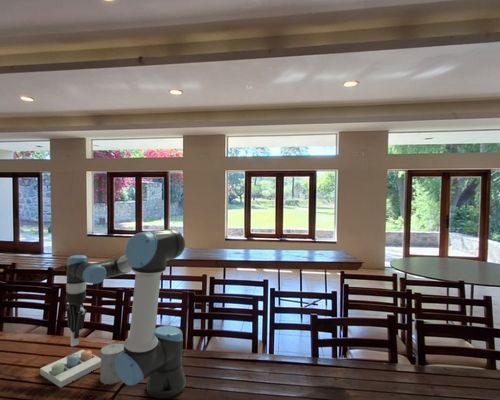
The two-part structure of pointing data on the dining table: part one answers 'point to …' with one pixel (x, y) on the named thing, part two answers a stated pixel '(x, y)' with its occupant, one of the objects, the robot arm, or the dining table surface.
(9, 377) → the dining table surface
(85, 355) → the terracotta button
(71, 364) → the slate button
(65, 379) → the panel
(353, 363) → the dining table surface
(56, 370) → the sage button
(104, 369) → the light grey cylinder
